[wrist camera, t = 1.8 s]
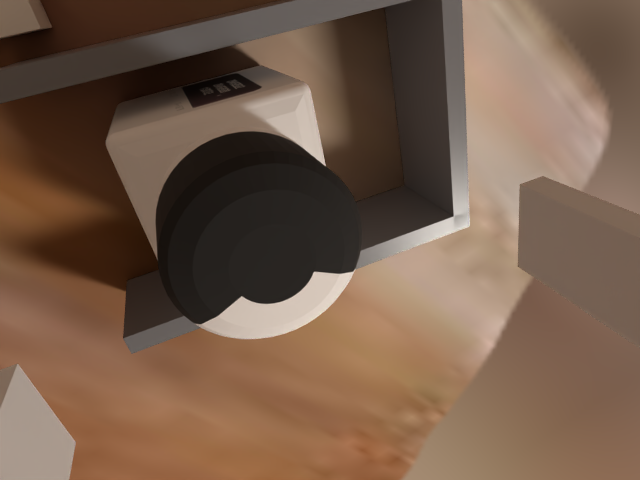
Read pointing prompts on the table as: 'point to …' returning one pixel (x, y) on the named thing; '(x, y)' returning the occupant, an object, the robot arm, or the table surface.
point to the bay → (411, 107)
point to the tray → (22, 17)
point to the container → (238, 201)
